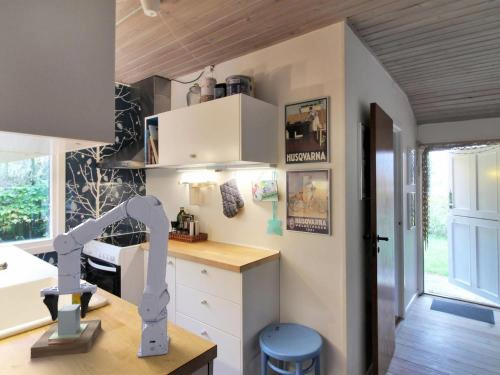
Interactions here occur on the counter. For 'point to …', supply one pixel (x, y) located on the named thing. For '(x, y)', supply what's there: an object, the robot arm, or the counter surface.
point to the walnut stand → (66, 340)
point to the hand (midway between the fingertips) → (69, 318)
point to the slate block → (69, 319)
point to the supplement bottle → (77, 295)
